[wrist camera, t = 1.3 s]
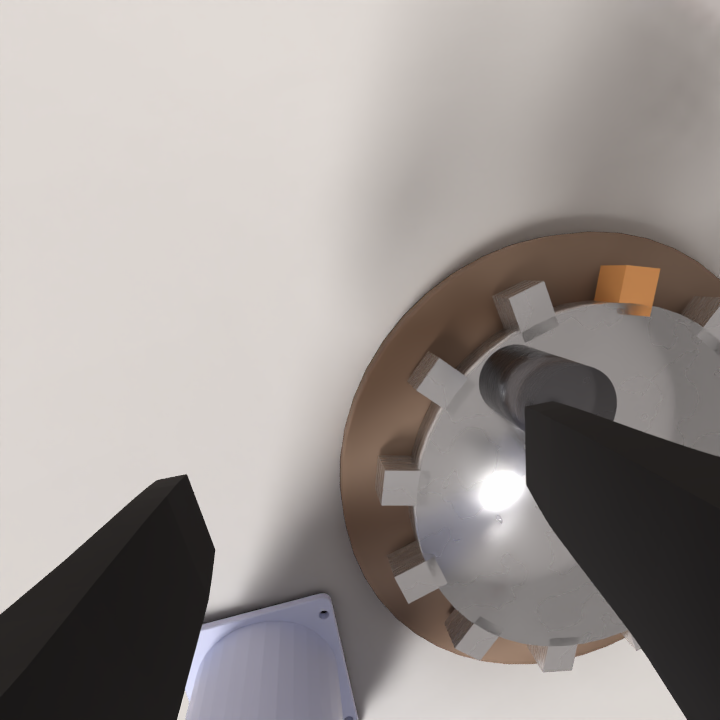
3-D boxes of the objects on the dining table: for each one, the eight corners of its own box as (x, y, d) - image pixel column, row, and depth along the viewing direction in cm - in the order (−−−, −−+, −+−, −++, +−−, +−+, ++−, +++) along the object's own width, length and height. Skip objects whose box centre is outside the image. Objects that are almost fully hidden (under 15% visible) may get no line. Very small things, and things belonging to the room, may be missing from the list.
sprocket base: (740, 586, 26) (796, 626, 23) (380, 692, 24) (392, 751, 21) (757, 197, 21) (832, 186, 18) (295, 281, 18) (295, 283, 15)
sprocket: (743, 589, 24) (871, 680, 19) (411, 686, 22) (448, 820, 17) (759, 235, 19) (934, 221, 14) (343, 315, 17) (363, 334, 12)
